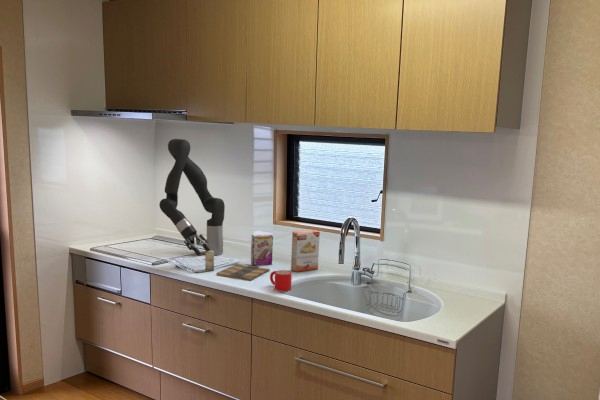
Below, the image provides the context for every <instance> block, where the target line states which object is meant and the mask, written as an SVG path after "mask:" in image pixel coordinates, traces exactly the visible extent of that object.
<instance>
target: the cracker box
mask: <svg viewBox="0 0 600 400" xmlns="http://www.w3.org/2000/svg"><path fill="white" fill-rule="evenodd" d="M291 233H292V235H291V260H290V261H291V262H290V263H291V264H290V270H292V271H294V272H296V273H298V272H306V271H314V270H318V269H319V256H320V255H319V254H320V252H319V251H320V250H319V249H320V248H319V247H320V234H321V233H320V231H319V230H315V229H309V230H297V231H296V230H295V231H294V230H293V231H292V232H291Z"/></svg>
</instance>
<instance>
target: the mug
mask: <svg viewBox="0 0 600 400" xmlns="http://www.w3.org/2000/svg"><path fill="white" fill-rule="evenodd" d="M292 273H293V272H292V271H290V270H287V269H286V270H285V269H281V270H273V271H271V273H270V275H269V280H270V283H271V284H272V285H273V286H274V290H276V291H279V292H288V291H291V290H292V281H293V279H292V277H293V276H292V275H293V274H292Z"/></svg>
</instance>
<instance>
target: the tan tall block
mask: <svg viewBox="0 0 600 400" xmlns="http://www.w3.org/2000/svg"><path fill="white" fill-rule="evenodd" d="M204 254H205V266H204V267H205V270H206V271H205V272H214V271H215V255H214V251H206V250H205V252H204Z"/></svg>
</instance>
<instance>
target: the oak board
mask: <svg viewBox="0 0 600 400" xmlns="http://www.w3.org/2000/svg"><path fill="white" fill-rule="evenodd" d="M269 272H270V268H266V267H260V266H257V265H256V266H253V265H246V264H239V263H235V264H234V265H231V266H229V267H227V268H224V269H222V270H220V271H218V272H216V276H217V277H219V276H220V277H225V278H232V279H237V280H238V279H239V280H244V281H250V282H251V281H253V280H254V281H255V279H257V278H259V277H261V276H264V275H265V274H267V273H269Z"/></svg>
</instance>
